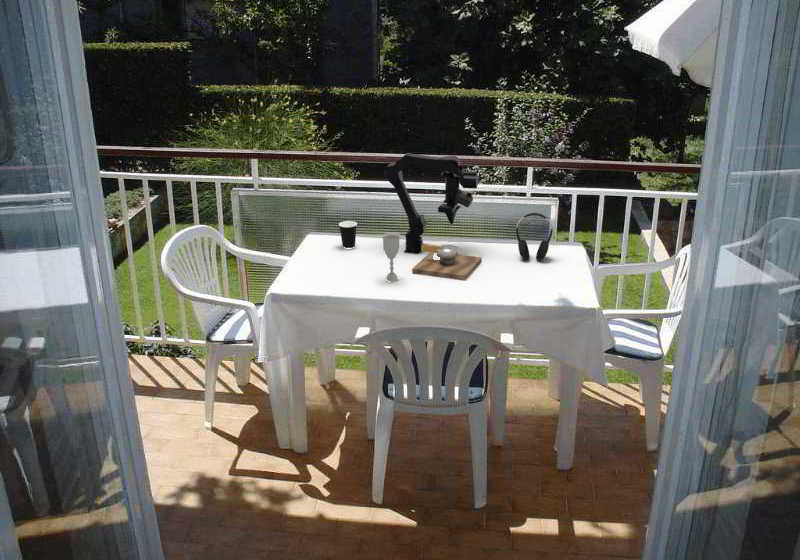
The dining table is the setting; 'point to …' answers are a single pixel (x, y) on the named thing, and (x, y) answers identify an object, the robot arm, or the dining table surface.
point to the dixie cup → (348, 233)
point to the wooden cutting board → (447, 266)
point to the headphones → (542, 248)
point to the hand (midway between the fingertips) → (451, 223)
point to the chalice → (391, 251)
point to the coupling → (441, 250)
